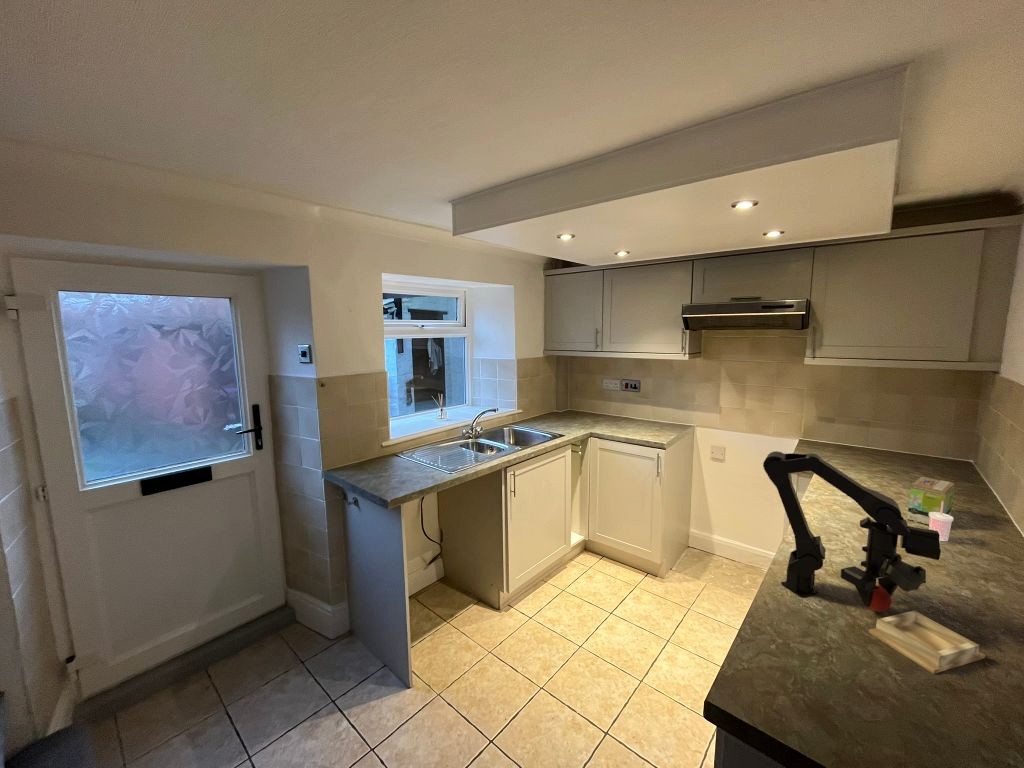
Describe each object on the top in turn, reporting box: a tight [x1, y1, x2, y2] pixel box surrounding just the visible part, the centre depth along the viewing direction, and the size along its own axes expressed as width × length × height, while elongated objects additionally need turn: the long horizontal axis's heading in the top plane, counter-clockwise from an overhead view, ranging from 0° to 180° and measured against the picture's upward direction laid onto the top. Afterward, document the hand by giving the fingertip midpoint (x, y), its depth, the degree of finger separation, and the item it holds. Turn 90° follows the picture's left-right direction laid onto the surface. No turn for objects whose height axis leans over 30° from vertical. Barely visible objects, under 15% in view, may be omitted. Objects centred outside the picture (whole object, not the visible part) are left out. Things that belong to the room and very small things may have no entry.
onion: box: [869, 581, 892, 613], centre depth 111 cm, size 6×6×8 cm
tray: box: [868, 610, 986, 675], centre depth 99 cm, size 16×13×3 cm
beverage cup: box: [928, 501, 954, 541], centre depth 147 cm, size 6×6×14 cm
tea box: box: [906, 475, 956, 523], centre depth 164 cm, size 15×10×15 cm
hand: (875, 603), depth 111 cm, fingers closed on onion, 6 cm apart
